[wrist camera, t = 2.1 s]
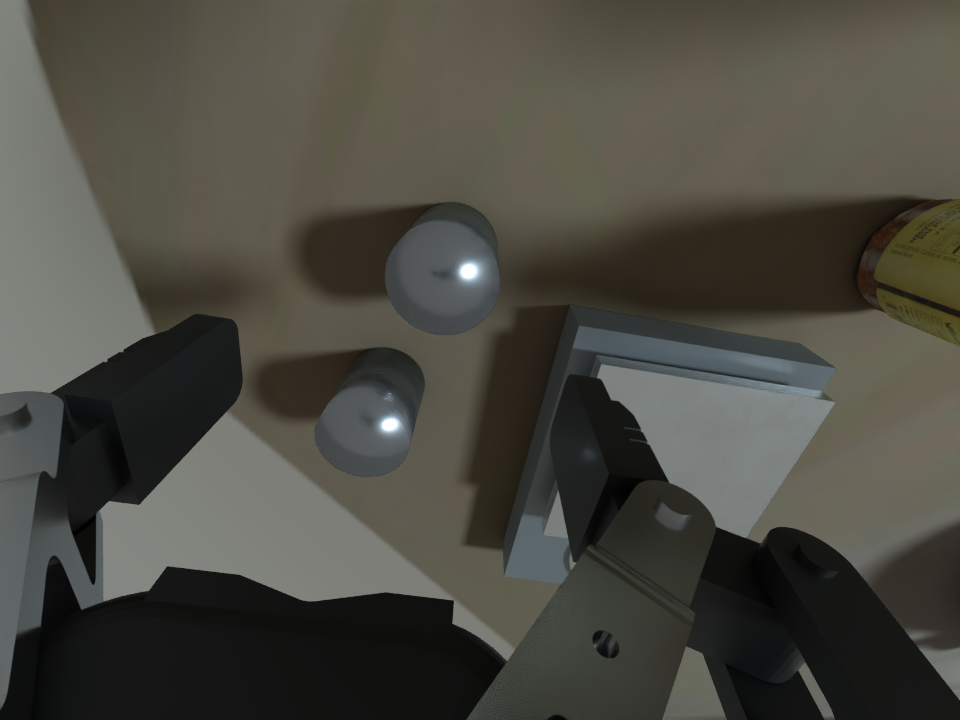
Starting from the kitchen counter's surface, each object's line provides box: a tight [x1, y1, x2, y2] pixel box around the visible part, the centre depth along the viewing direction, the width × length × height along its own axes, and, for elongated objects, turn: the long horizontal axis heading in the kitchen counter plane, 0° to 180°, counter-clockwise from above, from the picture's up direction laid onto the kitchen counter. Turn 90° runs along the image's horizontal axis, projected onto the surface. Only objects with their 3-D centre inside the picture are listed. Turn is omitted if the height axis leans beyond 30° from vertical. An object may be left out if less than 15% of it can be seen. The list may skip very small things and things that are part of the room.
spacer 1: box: [314, 347, 425, 477], centre depth 25 cm, size 5×5×6 cm
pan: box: [541, 355, 835, 538], centre depth 24 cm, size 12×12×1 cm
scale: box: [503, 305, 837, 584], centre depth 28 cm, size 14×20×4 cm
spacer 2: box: [385, 202, 500, 335], centre depth 21 cm, size 5×5×6 cm
